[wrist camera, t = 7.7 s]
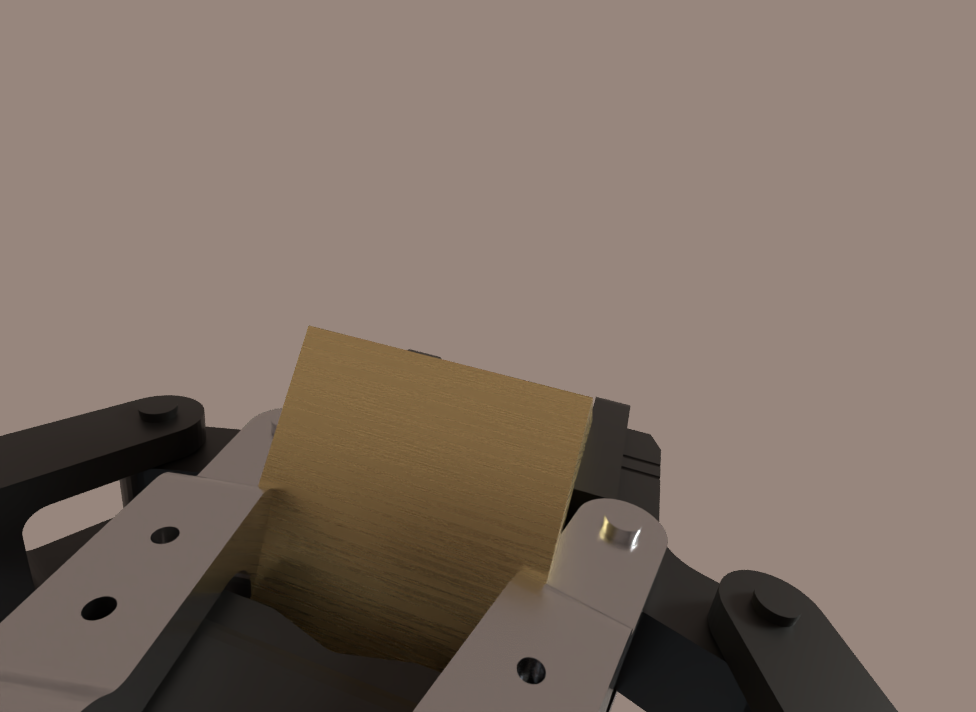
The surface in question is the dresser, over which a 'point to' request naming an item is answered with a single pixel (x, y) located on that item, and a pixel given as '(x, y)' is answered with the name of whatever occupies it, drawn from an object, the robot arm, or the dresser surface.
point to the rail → (410, 496)
